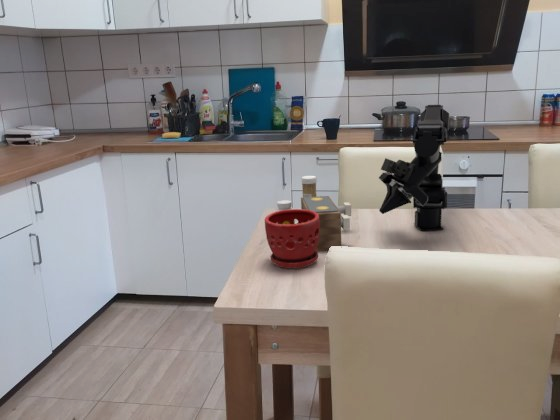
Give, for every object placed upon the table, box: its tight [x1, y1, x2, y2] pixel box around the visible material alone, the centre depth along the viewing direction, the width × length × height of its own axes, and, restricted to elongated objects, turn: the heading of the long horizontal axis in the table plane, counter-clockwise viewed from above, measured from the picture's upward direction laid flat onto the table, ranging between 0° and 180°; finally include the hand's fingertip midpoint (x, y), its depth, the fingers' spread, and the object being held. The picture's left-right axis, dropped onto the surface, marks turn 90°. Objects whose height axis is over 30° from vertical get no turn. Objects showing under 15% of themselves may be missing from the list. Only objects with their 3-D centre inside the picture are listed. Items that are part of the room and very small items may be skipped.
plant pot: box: [264, 208, 320, 269], centre depth 130 cm, size 13×13×12 cm
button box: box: [300, 195, 342, 253], centre depth 146 cm, size 8×19×10 cm, turn 4°
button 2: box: [341, 214, 351, 231], centre depth 139 cm, size 10×3×3 cm, turn 94°
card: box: [302, 195, 338, 213], centre depth 145 cm, size 7×16×1 cm, turn 4°
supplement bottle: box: [275, 199, 296, 224], centre depth 152 cm, size 5×5×10 cm
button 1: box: [335, 202, 352, 217], centre depth 152 cm, size 10×3×3 cm, turn 94°
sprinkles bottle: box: [301, 175, 318, 198], centre depth 167 cm, size 5×5×14 cm
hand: (381, 212), depth 140 cm, fingers closed
